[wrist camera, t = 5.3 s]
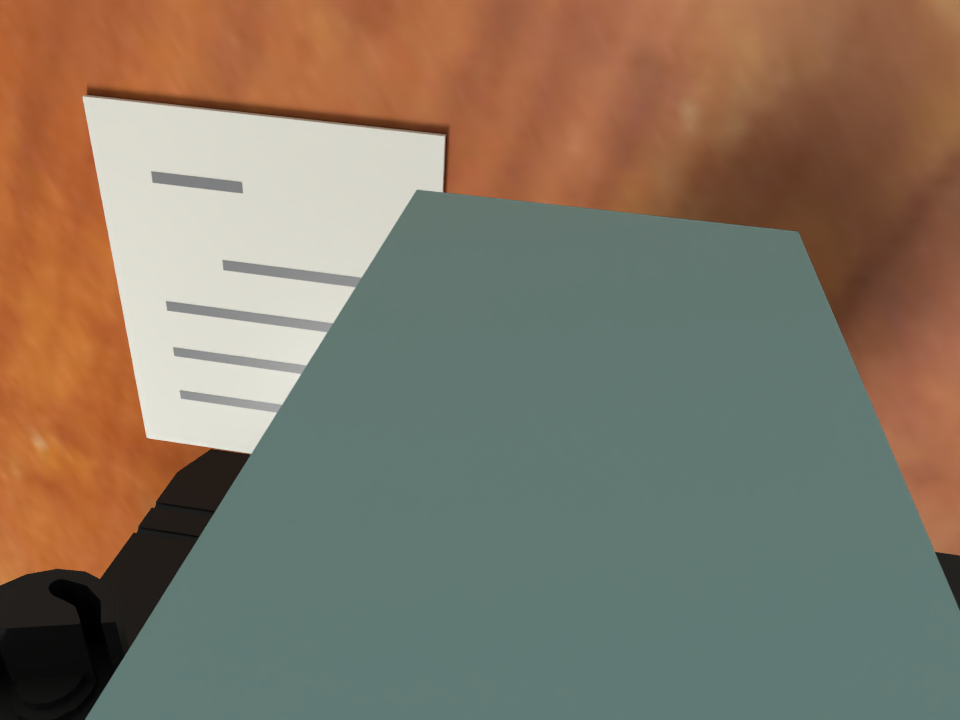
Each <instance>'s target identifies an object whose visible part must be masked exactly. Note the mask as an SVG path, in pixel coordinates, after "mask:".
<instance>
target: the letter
mask: <svg viewBox="0 0 960 720" xmlns="http://www.w3.org/2000/svg"><path fill="white" fill-rule="evenodd" d="M82 97H83V102H84V107H85V113H86V118H87V123H88V129H89V134H90V139H91V144H92V150H93V155H94V160H95V166H96V171H97V176H98V182H99V187H100V192H101V198H102V203H103V208H104V213H105V219H106V224H107V229H108V235H109V240H110V245H111V251H112V256H113V261H114V267H115V272H116V277H117V282H118V288H119V293H120V298H121V304H122V309H123V314H124V320H125V325H126V330H127V336H128V341H129V346H130V352H131V357H132V362H133V367H134V373H135V378H136V383H137V389H138V394H139V399H140V405H141V410H142V415H143V421H144V426H145V431H146V436H147V438H151V439H157V440H164V441H171V442H177V443H184V444H190V445H197V446H204V447H210V448H217V449H224V450H230V451H237V452H243V453H250V454H252V452H253V450H254V449H255V447H256V446H257V444H258V442H259V441H260V439H261V438H262V436H263V434H264V433H265V431H266V430H267V428H268V426H269V425H270V423H271V422H272V420H273V418H274V417H275V415H276V414H277V412H278V410H279V409H280V407H281V406H282V404H283V402H284V401H285V399H286V398H287V396H288V395H289V393H290V391H291V390H292V388H293V387H294V385H295V383H296V382H297V380H298V379H299V377H300V375H301V374H302V372H303V371H304V369H305V367H306V366H307V364H308V363H309V361H310V359H311V358H312V356H313V355H314V353H315V351H316V350H317V348H318V347H319V345H320V343H321V342H322V340H323V339H324V337H325V335H326V334H327V332H328V331H329V329H330V327H331V326H332V324H333V323H334V321H335V319H336V318H337V316H338V315H339V313H340V311H341V310H342V308H343V307H344V305H345V303H346V302H347V300H348V299H349V297H350V295H351V294H352V292H353V291H354V289H355V287H356V286H357V284H358V283H359V281H360V279H361V278H362V276H363V275H364V273H365V271H366V270H367V268H368V267H369V265H370V263H371V262H372V260H373V259H374V257H375V255H376V254H377V252H378V251H379V249H380V247H381V246H382V244H383V243H384V241H385V239H386V238H387V236H388V235H389V233H390V231H391V230H392V228H393V227H394V225H395V224H396V222H397V220H398V219H399V217H400V216H401V214H402V212H403V211H404V209H405V208H406V206H407V204H408V203H409V201H410V200H411V198H412V196H413V195H414V193H415V192H416V190H426V191H435V192H444V170H445V146H446V134H438V133H429V132H420V131H411V130H401V129H392V128H383V127H374V126H365V125H356V124H347V123H338V122H329V121H320V120H311V119H302V118H293V117H284V116H275V115H265V114H256V113H247V112H238V111H229V110H220V109H211V108H202V107H193V106H184V105H175V104H166V103H157V102H148V101H138V100H129V99H120V98H111V97H102V96H93V95H84V96H82Z"/></svg>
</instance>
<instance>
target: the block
mask: <svg viewBox="0 0 960 720" xmlns="http://www.w3.org/2000/svg"><path fill="white" fill-rule="evenodd" d="M85 720H960V610H959V608H958V605H957V603H956V601H955V598H954V596H953V593H952V591H951V589H950V586H949V584H948V582H947V579H946V577H945V575H944V572H943V570H942V568H941V565H940V563H939V561H938V558H937V556H936V554H935V551H934V549H933V547H932V544H931V542H930V540H929V537H928V535H927V532H926V530H925V528H924V525H923V523H922V521H921V518H920V516H919V514H918V511H917V509H916V507H915V504H914V502H913V500H912V497H911V495H910V493H909V490H908V488H907V486H906V483H905V481H904V479H903V476H902V474H901V472H900V469H899V467H898V464H897V462H896V460H895V457H894V455H893V453H892V450H891V448H890V446H889V443H888V441H887V439H886V436H885V434H884V432H883V429H882V427H881V425H880V422H879V420H878V418H877V415H876V413H875V411H874V408H873V406H872V403H871V401H870V399H869V396H868V394H867V392H866V389H865V387H864V385H863V382H862V380H861V378H860V375H859V373H858V371H857V368H856V366H855V364H854V361H853V359H852V357H851V354H850V352H849V350H848V347H847V345H846V342H845V340H844V338H843V335H842V333H841V331H840V328H839V326H838V324H837V321H836V319H835V317H834V314H833V312H832V310H831V307H830V305H829V303H828V300H827V298H826V296H825V293H824V291H823V289H822V286H821V284H820V281H819V279H818V277H817V274H816V272H815V270H814V267H813V265H812V263H811V260H810V258H809V256H808V253H807V251H806V249H805V246H804V244H803V242H802V239H801V237H800V235H799V232H798V231H789V230H780V229H771V228H761V227H752V226H743V225H734V224H725V223H716V222H707V221H698V220H689V219H680V218H671V217H662V216H653V215H644V214H634V213H625V212H616V211H607V210H598V209H589V208H580V207H571V206H562V205H553V204H544V203H535V202H526V201H517V200H507V199H498V198H489V197H480V196H471V195H462V194H453V193H444V192H435V191H426V190H416V192H415V193H414V195H413V196H412V198H411V200H410V201H409V203H408V204H407V206H406V208H405V209H404V211H403V212H402V214H401V216H400V217H399V219H398V220H397V222H396V224H395V225H394V227H393V228H392V230H391V231H390V233H389V235H388V236H387V238H386V239H385V241H384V243H383V244H382V246H381V247H380V249H379V251H378V252H377V254H376V255H375V257H374V259H373V260H372V262H371V263H370V265H369V267H368V268H367V270H366V271H365V273H364V275H363V276H362V278H361V279H360V281H359V283H358V284H357V286H356V287H355V289H354V291H353V292H352V294H351V295H350V297H349V299H348V300H347V302H346V303H345V305H344V307H343V308H342V310H341V311H340V313H339V315H338V316H337V318H336V319H335V321H334V323H333V324H332V326H331V327H330V329H329V331H328V332H327V334H326V335H325V337H324V339H323V340H322V342H321V343H320V345H319V347H318V348H317V350H316V351H315V353H314V355H313V356H312V358H311V359H310V361H309V363H308V364H307V366H306V367H305V369H304V371H303V372H302V374H301V375H300V377H299V379H298V380H297V382H296V383H295V385H294V387H293V388H292V390H291V391H290V393H289V395H288V396H287V398H286V399H285V401H284V402H283V404H282V406H281V407H280V409H279V410H278V412H277V414H276V415H275V417H274V418H273V420H272V422H271V423H270V425H269V426H268V428H267V430H266V431H265V433H264V434H263V436H262V438H261V439H260V441H259V442H258V444H257V446H256V447H255V449H254V450H253V452H252V454H251V455H250V457H249V458H248V460H247V462H246V463H245V465H244V466H243V468H242V470H241V471H240V473H239V474H238V476H237V478H236V479H235V481H234V482H233V484H232V486H231V487H230V489H229V490H228V492H227V494H226V495H225V497H224V498H223V500H222V502H221V503H220V505H219V506H218V508H217V510H216V511H215V513H214V514H213V516H212V518H211V519H210V521H209V522H208V524H207V526H206V527H205V529H204V530H203V532H202V534H201V535H200V537H199V538H198V540H197V542H196V543H195V545H194V546H193V548H192V550H191V551H190V553H189V554H188V556H187V558H186V559H185V561H184V562H183V564H182V565H181V567H180V569H179V570H178V572H177V573H176V575H175V577H174V578H173V580H172V581H171V583H170V585H169V586H168V588H167V589H166V591H165V593H164V594H163V596H162V597H161V599H160V601H159V602H158V604H157V605H156V607H155V609H154V610H153V612H152V613H151V615H150V617H149V618H148V620H147V621H146V623H145V625H144V626H143V628H142V629H141V631H140V633H139V634H138V636H137V637H136V639H135V641H134V642H133V644H132V645H131V647H130V649H129V650H128V652H127V653H126V655H125V657H124V658H123V660H122V661H121V663H120V665H119V666H118V668H117V669H116V671H115V673H114V674H113V676H112V677H111V679H110V681H109V682H108V684H107V685H106V687H105V689H104V690H103V692H102V693H101V695H100V697H99V698H98V700H97V701H96V703H95V705H94V706H93V708H92V709H91V711H90V713H89V714H88V716H87V717H86V719H85Z"/></svg>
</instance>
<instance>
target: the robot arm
mask: <svg viewBox="0 0 960 720" xmlns="http://www.w3.org/2000/svg"><path fill="white" fill-rule="evenodd" d="M249 457H250V455H249V454H242V453H235V452H228V451H221V450H214V449H211V450H209V451H208V452H206V453H205V454H203V455H202V456H200V457H199V458H198V459H196V460H195V461H193V462H192V463H190V464H189V465H187V466H186V467H184V468H183V469H182V470H180V471H179V472H177V474H176V475H175V476H174V478H173V479H172V480H171V482H170V483H169V485H168V486H167V487H166V489H165V490H164V492H163V493H162V494H161V496H160V497H159V498H158V500H157V501H156V506H155V508H151V509H150V511H149V512H148V514H147V515H146V516H145V518H144V519H143V521H142V522H141V523H140V525H139V526H138V531H137V533H133V534H132V536H131V537H130V538H129V540H128V541H127V543H126V544H125V545H124V547H123V548H122V550H121V551H120V552H119V554H118V555H117V556H116V558H115V559H114V561H113V562H112V563H111V565H110V566H109V567H108V569H107V570H106V572H105V573H104V574H103V576H102V577H101V579H99V578H97V577H95V576H93V575H91V574H89V573H87V572H84V571H74V570H63V569H54V570H49V571H43V572H37V573H32V574H26V575H24V576H21V577H19V578H17V579H14V580H12V581H10V582H8V583H5V584H3V585H1V586H0V720H85V719H86V717H87V716H88V714H89V713H90V711H91V709H92V708H93V706H94V705H95V703H96V701H97V700H98V698H99V697H100V695H101V693H102V692H103V690H104V689H105V687H106V685H107V684H108V682H109V681H110V679H111V677H112V676H113V674H114V673H115V671H116V669H117V668H118V666H119V665H120V663H121V661H122V660H123V658H124V657H125V655H126V653H127V652H128V650H129V649H130V647H131V645H132V644H133V642H134V641H135V639H136V637H137V636H138V634H139V633H140V631H141V629H142V628H143V626H144V625H145V623H146V621H147V620H148V618H149V617H150V615H151V613H152V612H153V610H154V609H155V607H156V605H157V604H158V602H159V601H160V599H161V597H162V596H163V594H164V593H165V591H166V589H167V588H168V586H169V585H170V583H171V581H172V580H173V578H174V577H175V575H176V573H177V572H178V570H179V569H180V567H181V565H182V564H183V562H184V561H185V559H186V558H187V556H188V554H189V553H190V551H191V550H192V548H193V546H194V545H195V543H196V542H197V540H198V538H199V537H200V535H201V534H202V532H203V530H204V529H205V527H206V526H207V524H208V522H209V521H210V519H211V518H212V516H213V514H214V513H215V511H216V510H217V508H218V506H219V505H220V503H221V502H222V500H223V498H224V497H225V495H226V494H227V492H228V490H229V489H230V487H231V486H232V484H233V482H234V481H235V479H236V478H237V476H238V474H239V473H240V471H241V470H242V468H243V466H244V465H245V463H246V462H247V460H248V458H249ZM935 554H936V556H937V558H938V561H939V563H940V565H941V568H942V570H943V572H944V575H945V577H946V579H947V582H948V584H949V586H950V589H951V591H952V593H953V596H954V598H955V601H956V603H957V605H958V608H959V610H960V556H958V555H951V554H945V553H938V552H935Z"/></svg>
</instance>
